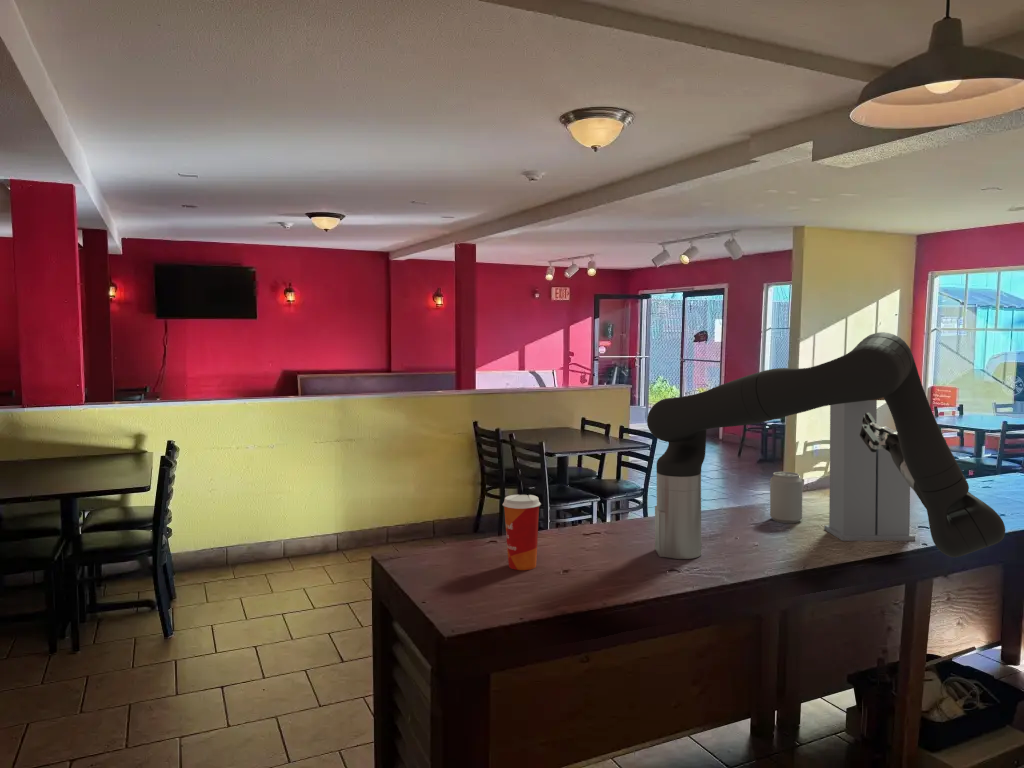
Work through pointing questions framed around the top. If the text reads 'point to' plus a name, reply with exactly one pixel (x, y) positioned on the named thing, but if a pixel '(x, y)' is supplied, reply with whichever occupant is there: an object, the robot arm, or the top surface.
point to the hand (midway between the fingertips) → (887, 416)
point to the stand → (864, 482)
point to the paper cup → (522, 530)
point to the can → (786, 497)
